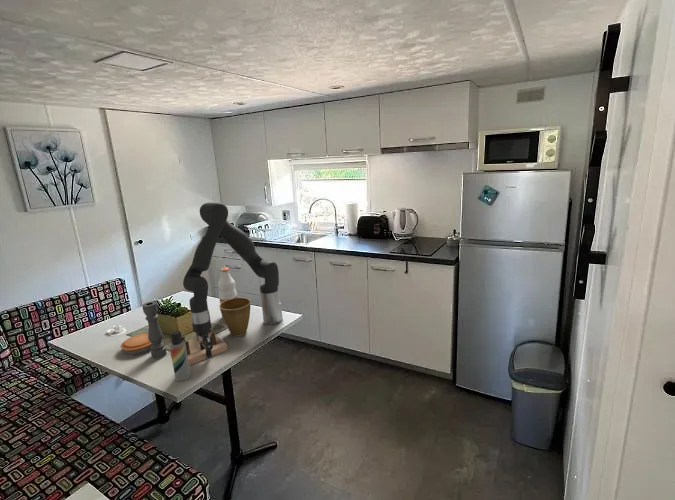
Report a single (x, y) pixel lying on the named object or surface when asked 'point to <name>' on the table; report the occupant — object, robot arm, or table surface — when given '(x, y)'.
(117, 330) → the teacup and saucer
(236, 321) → the plant pot
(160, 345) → the candle holder
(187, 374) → the lotion bottle
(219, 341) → the rack
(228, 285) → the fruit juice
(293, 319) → the table surface
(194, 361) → the strip
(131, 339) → the pie
